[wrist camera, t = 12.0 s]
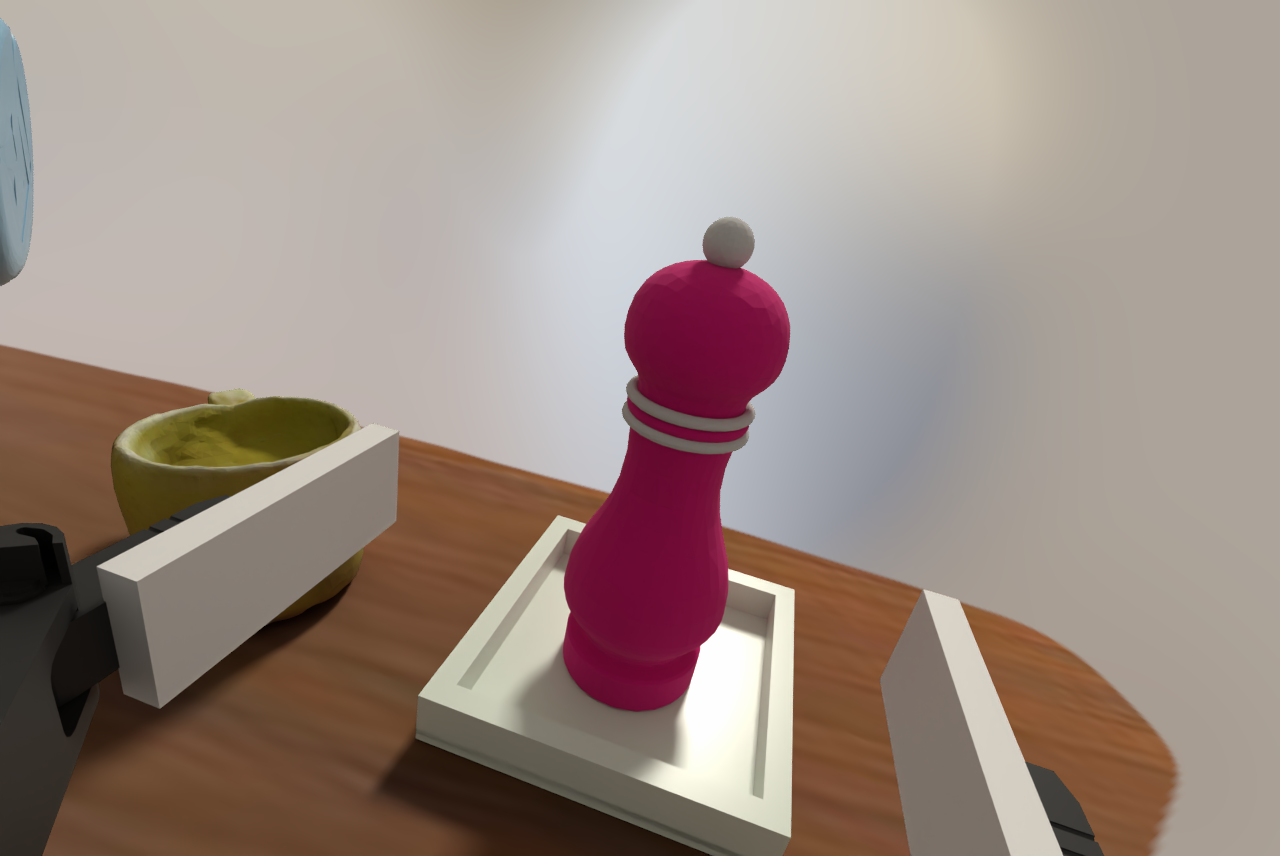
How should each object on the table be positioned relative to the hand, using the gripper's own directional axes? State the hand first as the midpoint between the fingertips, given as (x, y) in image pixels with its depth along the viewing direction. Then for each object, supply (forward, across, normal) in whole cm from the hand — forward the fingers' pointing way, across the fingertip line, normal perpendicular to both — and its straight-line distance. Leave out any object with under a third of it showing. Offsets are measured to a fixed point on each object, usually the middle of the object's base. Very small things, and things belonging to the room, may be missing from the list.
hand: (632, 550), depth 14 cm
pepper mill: (+9, 0, -13) cm, 16 cm away
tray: (+9, 0, -13) cm, 16 cm away
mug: (+8, -20, -13) cm, 25 cm away
